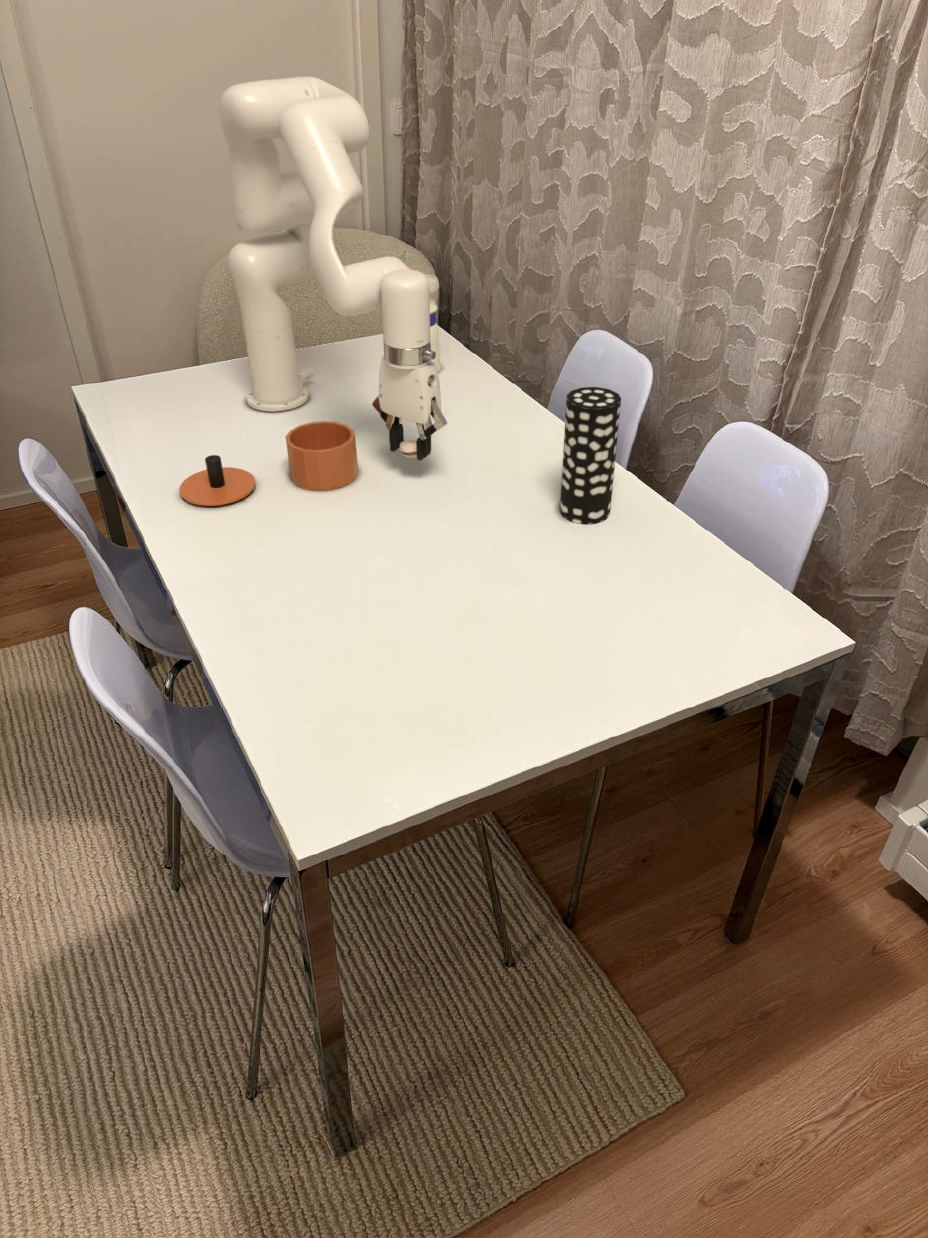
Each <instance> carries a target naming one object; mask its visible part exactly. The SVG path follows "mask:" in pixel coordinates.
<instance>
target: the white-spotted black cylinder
mask: <svg viewBox="0 0 928 1238" xmlns="http://www.w3.org/2000/svg"><path fill="white" fill-rule="evenodd" d="M621 405H622V397H621V395H620V394H619V393H618V392H616V391H614V390H612V389H610V388H605V387H601V386H600V387H599V386H585V387H579V388H575V389H573V390H571V391H569V392H568V393H567V395H566V402H565V415H564V416H565V419H564V432H563V433H564V434H563V435H564V436H563V451H562V467H561V468H562V470H561V482H560V483H561V486H560V500H559V513H560V515H561V517H563V518H564V519H565V520H567V521H569V522H572V523H575V524H579V525H594V524H599V523H602V522H604V521H606V520H607V519H608V518H609V517H610V515H611V509H612V498H613V488H614V478H615V477H614V476H615V468H616V458H617V457H616V456H617V447H618V437H619V427H620V426H619V425H620V418H621V417H620V415H621Z"/></svg>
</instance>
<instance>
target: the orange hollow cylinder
mask: <svg viewBox="0 0 928 1238" xmlns="http://www.w3.org/2000/svg"><path fill="white" fill-rule="evenodd" d="M356 441H357V440H356V434H355V430H354V429H353V428H352V427H351V426H349V425H348V424H344V423H341V422H337V421H327V420H322V421H312V422H307V423H304V424H300V425H297V426H296V427H294V428H292V429H290V430H289V431H288V433H287V434H286V435H285V443H286V451H287V459H288V464H289V472H290V479H291V481H292V483H293V484H294V485H296V487H299V488H301V489H304V490H309V491H313V492H314V491H315V492H316V491H317V492H320V491H321V492H324V491H325V492H326V491H332V490H337V489H341V488H344V487H346V486H348V485H350V484H351V483H352V482H353V483H354V481H355V480H356V479H357V477H358V474H359V466H358V465H359V464H358V454H357V453H358V452H357V442H356Z"/></svg>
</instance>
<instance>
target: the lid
mask: <svg viewBox="0 0 928 1238" xmlns="http://www.w3.org/2000/svg"><path fill="white" fill-rule="evenodd" d="M204 462H205V468H206V469H204V470H201V471H198V472H195V473H193V474H191V475H190V476H188V477H186V478H185V479H184V480H183V481H182V482H181V484H180V486H179V494H180V496H181V498H182V499H184V500H185V501H186V502H188V503H190V504H193V505H197V506H205V507H210V506H211V507H212V506H223V505H227V504H231V503H235V502H238V501H240V500H242V499H244V498H246V497H248V496H249V495H250V494H251V493H252V492H253V491H254V490H255V487H256V485H257V482H256V477H255V476H254V475H253V474H252V473H251V472H249V471H247V470H245V469H242V468H238V467H227V466H226V467H225V466H224V467H223V465H222V464H223V462H222V457H221V456H220V455H218V454H212V455H208V456H206V457H205V458H204Z"/></svg>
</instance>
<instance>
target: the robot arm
mask: <svg viewBox="0 0 928 1238" xmlns="http://www.w3.org/2000/svg"><path fill="white" fill-rule="evenodd" d="M219 121H220V124H221V129H222V132H223V136H224V139H225V141H226V145H227V148H228V154H229V167H230V168H229V169H230V170H229V171H230V183H231V199H232V211H233V218H234V221H235V224H236V226H237V227H238V228H239V231H241V232H242V233H244V234H246V235H249V236H257V237H252V238H248V239H245V240H242V241H240V242H237V243H236V244H235V245H233V247H231V249H230V251H229V253H228V255H227V267H228V272H229V275H230V277H231V281H232V284H233V287H234V290H235V293H236V297H237V301H238V306H239V311H240V316H241V323H242V328H243V336H244V342H245V348H246V357H247V362H248V369H249V375H250V381H251V387H252V388H251V389H250V390H249V391H248V392H247V393H246V396H245V401H246V404H247V405H248V406H249V408H252V409H254V410H257V411H261V412H268V413H269V412H271V413H274V412H285V411H290V410H293V409H297V408H298V407H301V406H302V405H304V404H306V402H307V401H308V399H309V391H308V389H307V388H306V387H305V386H304V385H303V384H304V383H305V382H306V381H307V380H309V379H311V378H313V377H314V376H315V372H314V370H313V369H312V368H310V367H308V368H306V369H303V370H302V371H300V370H299V369H298V360H297V351H296V344H295V336H294V327H293V319H292V313H291V310H290V307H289V306H288V304H286V302H285V301H284V300H283V299H282V298H281V297H280V296H279V294H278V292H277V291H278V290H280V289H284V288H288V287H291V286H296V285H299V284H302V283H303V284H304V283H307V282H309V281H311V280H312V279H314V278H315V279H316V280H317V283H318V285H319V288H320V290H321V291H322V293H323V295H324V297H325V299H326V301H327V303H328V304H329V306H330V307H331V309H333V311H334V312H336V313H337V314H338V315H340V316H341V317H349V318H350V317H355V316H358V315H363V314H366V313H367V314H368V313H369V312H373V311H376V310H381V315H382V317H381V318H382V339H383V341H382V342H383V355H382V357H381V360H380V366H379V375H378V395H377V397H375V399H374V400H373V401H372V404H371V405H372V407H373V408H374V409H375V410H376V412H377V413H379V417H380V418H381V419H382V420H383V422H384V423H385V425H384V427H385V428H386V429H387V430H388V440H389V441H388V442H389V451H390V452H392V453H393V452H397V451H398V450H400V443H401V442H403V441H405V440H404V439H405V437H404V436H405V435H404V424H403V423H401V420H404V421H405V420H406V421H408V422H413V423H414V424H415V427H416V429H417V434H418V438H417V439H416V440H415V441H416V443H417V457H416V459H417V460H418V461H423V460H424V459H426V458H427V457H429V456H430V455H431V452H432V435H434V434H435V433H436V432H437V431H439V430H441V429H442V428H444V427H445V426H447V425H448V421H447V419H446V418H445V416H444V414H443V412H442V395H441V384H440V378H439V372H438V371H437V367H436V363H435V361H434V359H435V357H436V352H434V351H432V350H431V343H430V287H429V280H428V278H427V277H426V275H424V274H425V273H424V272H422V271H419V270H415V269H411V268H410V267H409V266H408V265H407V264H405V262H402V261H401V259H400V258H398V257H395V256H389V255H388V256H382V257H381V256H380V257H377V258H371V259H367V260H363V261H359V262H354V263H351V264H347V265H346V264H345V265H343V263H342V260H341V259H340V256H339V253H338V252H337V250H336V247H335V242H334V236H333V235H334V226H335V224H336V223H337V222H338V221H339V220H341V219H342V218H343V217H345V216H346V215H348V214H349V213H350V212H351V211H353V209H355V207H356V206H358V204H359V203H360V202H361V200H362V198H363V195H364V188H363V184H362V182H361V181H360V179H359V176H358V174H357V172H356V169H355V167H354V165H353V163H352V161H351V159H350V156H349V154H353V153H357V152H361V151H362V150H364V149H365V148H366V146H367V144H368V142H369V138H370V124H369V120H368V118H367V114H366V113H365V110H364V108H363V107H362V105H361V104H360V103H359V101H358V100H357V99H355V97H353V96H352V95H351V94H350V93H348V92H346V91H344V90H343V89H341V88H339V87H336V86H335V85H333V84H331V83H329V82H327V81H326V80H323V79H320V78H318V77H315V76H309V75H304V76H294V77H284V78H273V79H271V78H270V79H263V80H261V79H260V80H254V81H248V82H247V81H246V82H242V83H237V84H233V85H232V86H229V87H227V88H226V90H225V91H224V92H223V93H222V95H221V97H220V101H219ZM279 138H281V139H282V142H283V144H284V146H285V149H286V150H287V153H288V155H289V157H290V160H291V162H292V164H293V166H294V169H295V170H290V171H289V170H288V171H283V172H281V170H280V168H281V165H280V163H281V162H280V154H279V150H278V147H277V145H276V143H275V142H274V140H275V139H279ZM432 419H433V421H434V423H433V422H432Z"/></svg>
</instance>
